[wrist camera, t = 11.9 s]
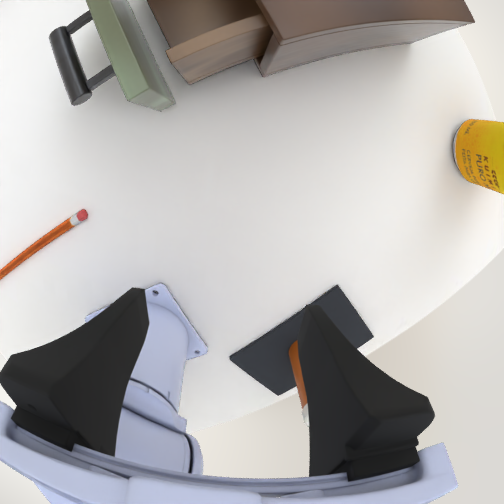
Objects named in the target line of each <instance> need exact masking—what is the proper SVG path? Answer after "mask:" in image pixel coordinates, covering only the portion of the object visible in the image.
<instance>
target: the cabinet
mask: <svg viewBox="0 0 504 504" xmlns="http://www.w3.org/2000/svg"><path fill="white" fill-rule="evenodd" d="M255 1H256V3H257V4H258V6H259V8H260V9H261V11H262V13H263V15H264V16H265V18H266V20H267V22H268V23H269V25H270V27H271V29H272V31H273V32H274V33H273V35H272V37H271V39H270V42H269V44H268V47H267V49H266V51H265V54H264V55H263V56H260V57H257V58H254V61H255V63H256V65H257V67H258V69H259V71H260V73H261V75H262V76H263V77H266V76H268V75H271V74H274V73H277V72H280V71H283V70H286V69H290V68H293V67H296V66H299V65H303V64H306V63H310V62H314V61H317V60H321V59H325V58H329V57H333V56H337V55H342V54H346V53H351V52H356V51H361V50H366V49H372V48H378V47H385V46H392V45H399V44H408V43H413V42H416V41H419V40H421V39H424V38H427V37H430V36H433V35H436V34H439V33H442V32H445V31H448V30H451V29H454V28H458V27H461V26H464V25H467V24H471V23H475V21H474V19H473V16H472V14H471V12H470V11H469V9H468V7H467V5H466V3H465V2H464V0H255Z"/></svg>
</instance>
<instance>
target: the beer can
mask: <svg viewBox="0 0 504 504" xmlns="http://www.w3.org/2000/svg"><path fill="white" fill-rule="evenodd" d="M453 153H454V158H455V162H456V164H457V167H458V168H459V170H460V172H461V174H462V175H463V177H464V178H465V179H466V180H467V181H469V182H471V183H474V184H477V185H480V186H483V187H485V188H488V189H491V190H494V191H496V192H499V193H502V194H504V122H496V121H487V120H475V119H470V120H467V121H465V122H464V123H463V124H462V125H461V127H460V128H459V129H458V131H457V132H456V135H455V138H454V143H453Z"/></svg>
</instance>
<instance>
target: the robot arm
mask: <svg viewBox="0 0 504 504" xmlns="http://www.w3.org/2000/svg"><path fill="white" fill-rule="evenodd" d="M154 290H155V291H157V292H158V293H157V294H156V293H154ZM85 322H86V323H85V324H84V325H82V326H81V327H79V328H77V329H76V330H74V331H72V332H70V333H69V334H67V335H65V336H63V337H61V338H59V339H57V340H54V341H52V342H50V343H48V344H45V345H43V346H40V347H37V348H34V349H31V350H28V351H24V352H21V353H17V354H13V355H11V356H10V358H9V359H8V361H7V362H6V364H5V365H4V367H3V369H2V370H1V372H0V383H1V385H2V387H3V388H4V390H5V391H6V392H7V394H8V395H9V396H10V397H11V399H12V400H13V401H14V402H15V404H16V405H17V407H16V409H15V410H13V409H12V408H11V407H10V406H8V405H7V404H5V403H3V402H1V401H0V460H1V461H2V462H4V463H5V464H7V465H8V466H9V467H11V468H12V469H14V470H16V471H17V472H19V473H20V474H22V475H23V476H25V477H27V478H28V479H30V480H32V481H33V482H34V483H35V485H36V486H37V487H38V489H39V490H40V491H41V492H42V493H43V495H44V496H45V497H46V498H47V500H48V501H49V502H50V503H51V504H427V503H430V502H431V501H434V500H436V499H437V498H440V497H442V496H443V495H445V494H447V493H449V492H450V491H452V490H454V489H456V488H457V487H458V483H457V480H456V477H455V474H454V471H453V468H452V465H451V462H450V459H449V456H448V453H447V450H446V448H445V445H444V443H439V444H436V445H433V446H430V447H427V448H424V449H422V450H420V451H418V452H417V450H416V447H415V446H417V445H418V443H419V442H418V439H417V436H418V435H420V433H422V432H423V431H424V430H425V429H426V428H427V427H428V426H429V425H430V424H431V422H432V421H433V419H434V417H435V414H434V411H433V408H432V406H431V404H430V402H429V399H428V397H426V396H424V395H422V394H420V393H418V392H416V391H414V390H412V389H410V388H408V387H406V386H404V385H403V384H401V383H399V382H397V381H396V380H394V379H393V378H391V377H390V376H388V375H387V374H386V373H384V372H383V371H382V370H380V369H379V368H378V367H376V366H375V365H374V364H372V363H371V362H370V361H369V360H368V359H367V358H366V357H365V356H363V355H362V354H361V353H360V352H359V351H358V350H357V349H356V348H355V347H354V346H353V345H352V344H351V343H350V342H349V340H348V339H347V338H346V337H345V336H344V335H343V334H342V332H341V331H340V330H339V329H338V328H337V326H336V325H335V324H334V323H333V322H332V320H331V319H330V318H329V317H328V315H327V314H326V313H325V311H324V310H323V309H322V308H321V306H320V305H306V308H305V312H304V315H303V319H302V322H301V326H300V329H299V333H298V336H297V343H298V357H299V362H300V367H301V372H302V377H303V382H304V386H305V391H306V396H307V403H308V416H309V432H310V466H309V477H301V478H279V479H278V478H277V479H252V478H250V479H249V478H229V477H216V476H206V475H202V474H203V457H202V453H201V449H200V446H199V443H198V441H197V440H196V439H195V438H194V437H193V436H192V435H189V434H187V433H186V424H187V420H186V419H185V418H183V417H181V416H180V415H178V411H179V403H180V396H181V389H182V382H183V375H184V369H185V362H186V360H189V359H192V358H195V357H198V356H201V355H204V354H206V353H207V352H208V348H207V346H206V345H205V343H204V342H203V340H202V339H201V338H200V336H199V335H198V333H197V332H196V331H195V329H194V328H193V326H192V325H191V323H190V322H189V321H188V319H187V318H186V316H185V315H184V313H183V312H182V310H181V309H180V307H179V306H178V304H177V303H176V301H175V300H174V298H173V297H172V295H171V294H170V292H169V290H168V289H167V287H166V286H165V285H164V284H157V285H154V286H152V287H150V288H148V289H140V288H131V289H130V290H129V291H127V292H126V293H125V294H123V295H122V296H121V297H120V298H119V299H117V300H116V301H115V302H114V303H112V304H111V305H110V306H107V307H105V308H103V309H101V310H98V311H96V312H94V313H92V314H89V315H87V316H86V318H85ZM197 351H199V352H197ZM276 497H280V498H276Z"/></svg>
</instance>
